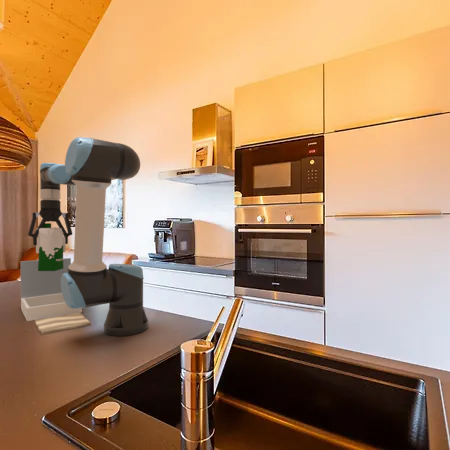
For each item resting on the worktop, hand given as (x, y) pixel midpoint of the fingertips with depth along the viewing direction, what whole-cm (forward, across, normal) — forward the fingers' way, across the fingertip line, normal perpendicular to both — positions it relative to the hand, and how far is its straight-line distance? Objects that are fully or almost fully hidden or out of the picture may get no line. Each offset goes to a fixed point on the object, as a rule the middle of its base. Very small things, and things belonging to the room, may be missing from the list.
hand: (50, 252), depth 137 cm
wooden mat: (+25, 0, +22) cm, 33 cm away
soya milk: (+8, 0, 0) cm, 8 cm away
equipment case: (+25, 0, -4) cm, 26 cm away
